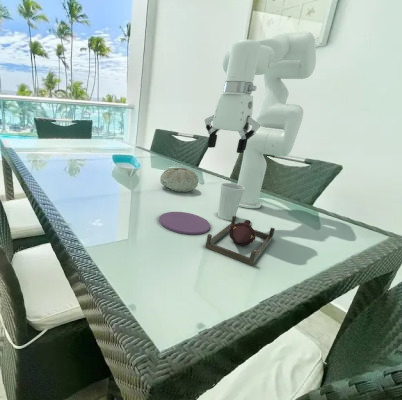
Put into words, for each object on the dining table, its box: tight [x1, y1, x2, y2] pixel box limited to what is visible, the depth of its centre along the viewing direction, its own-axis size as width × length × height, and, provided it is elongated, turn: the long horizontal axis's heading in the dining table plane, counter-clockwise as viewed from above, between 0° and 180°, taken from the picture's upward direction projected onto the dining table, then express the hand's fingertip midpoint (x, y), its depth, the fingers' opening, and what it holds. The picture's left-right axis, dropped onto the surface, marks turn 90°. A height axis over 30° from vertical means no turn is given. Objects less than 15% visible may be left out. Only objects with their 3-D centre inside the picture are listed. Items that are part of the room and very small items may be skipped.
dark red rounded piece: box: [229, 219, 256, 247], centre depth 81 cm, size 7×7×15 cm
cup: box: [217, 182, 245, 221], centre depth 100 cm, size 8×8×12 cm
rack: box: [205, 215, 276, 267], centre depth 81 cm, size 21×13×4 cm, turn 140°
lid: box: [158, 211, 211, 236], centre depth 93 cm, size 17×17×1 cm
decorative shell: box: [159, 167, 199, 193], centre depth 129 cm, size 18×18×10 cm
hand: (225, 149), depth 83 cm, fingers open, 9 cm apart
